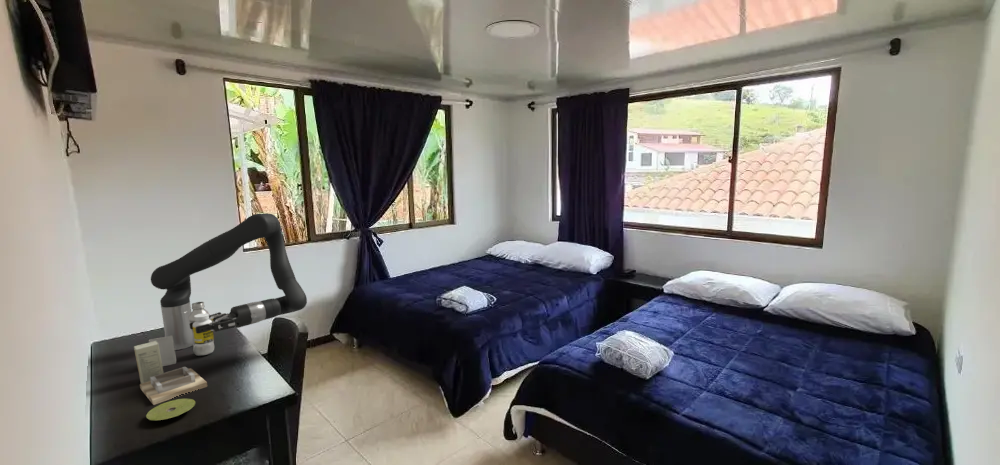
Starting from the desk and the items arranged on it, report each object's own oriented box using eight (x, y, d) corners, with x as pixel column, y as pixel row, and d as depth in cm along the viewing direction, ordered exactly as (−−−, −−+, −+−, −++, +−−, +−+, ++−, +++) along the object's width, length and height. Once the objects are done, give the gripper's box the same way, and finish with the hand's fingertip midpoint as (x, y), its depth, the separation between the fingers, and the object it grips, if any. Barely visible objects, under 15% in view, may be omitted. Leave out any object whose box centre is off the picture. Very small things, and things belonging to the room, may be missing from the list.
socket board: (140, 388, 141) (138, 376, 140) (191, 372, 152) (190, 361, 151) (153, 405, 131) (151, 392, 130) (207, 386, 141) (205, 374, 141)
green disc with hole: (184, 400, 133) (183, 394, 133) (204, 410, 127) (203, 404, 127) (139, 419, 123) (138, 413, 123) (158, 430, 118) (157, 424, 117)
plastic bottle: (215, 354, 166) (208, 303, 163) (193, 359, 162) (186, 307, 159) (214, 349, 171) (208, 299, 168) (193, 353, 167) (186, 302, 164)
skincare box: (162, 374, 151) (157, 340, 149) (164, 378, 148) (159, 343, 146) (138, 380, 147) (133, 345, 145) (140, 385, 144) (134, 349, 142)
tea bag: (175, 363, 159) (171, 337, 158) (152, 368, 155) (148, 341, 154) (176, 359, 162) (172, 334, 161) (153, 364, 159) (149, 338, 157)
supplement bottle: (205, 347, 144) (201, 318, 142) (191, 346, 145) (186, 317, 143) (218, 340, 149) (214, 312, 148) (204, 339, 150) (200, 311, 149)
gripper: (239, 300, 161) (184, 313, 148) (255, 307, 152) (198, 322, 139) (241, 319, 162) (187, 334, 149) (258, 328, 153) (201, 344, 140)
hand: (193, 328), depth 144 cm, fingers closed on supplement bottle, 5 cm apart
